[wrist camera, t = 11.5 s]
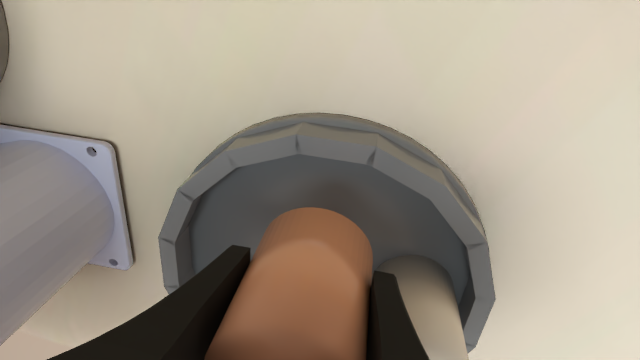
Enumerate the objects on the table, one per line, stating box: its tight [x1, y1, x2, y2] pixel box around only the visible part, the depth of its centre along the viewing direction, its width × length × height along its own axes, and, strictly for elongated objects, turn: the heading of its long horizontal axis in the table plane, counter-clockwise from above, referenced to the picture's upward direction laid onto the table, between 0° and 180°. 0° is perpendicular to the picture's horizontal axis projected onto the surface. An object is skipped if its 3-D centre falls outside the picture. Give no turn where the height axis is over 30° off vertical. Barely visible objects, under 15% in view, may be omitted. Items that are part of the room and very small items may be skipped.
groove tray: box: [158, 113, 495, 354], centre depth 20 cm, size 16×16×2 cm
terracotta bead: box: [204, 207, 373, 360], centre depth 12 cm, size 4×4×5 cm
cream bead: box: [371, 255, 469, 360], centre depth 17 cm, size 4×4×5 cm
